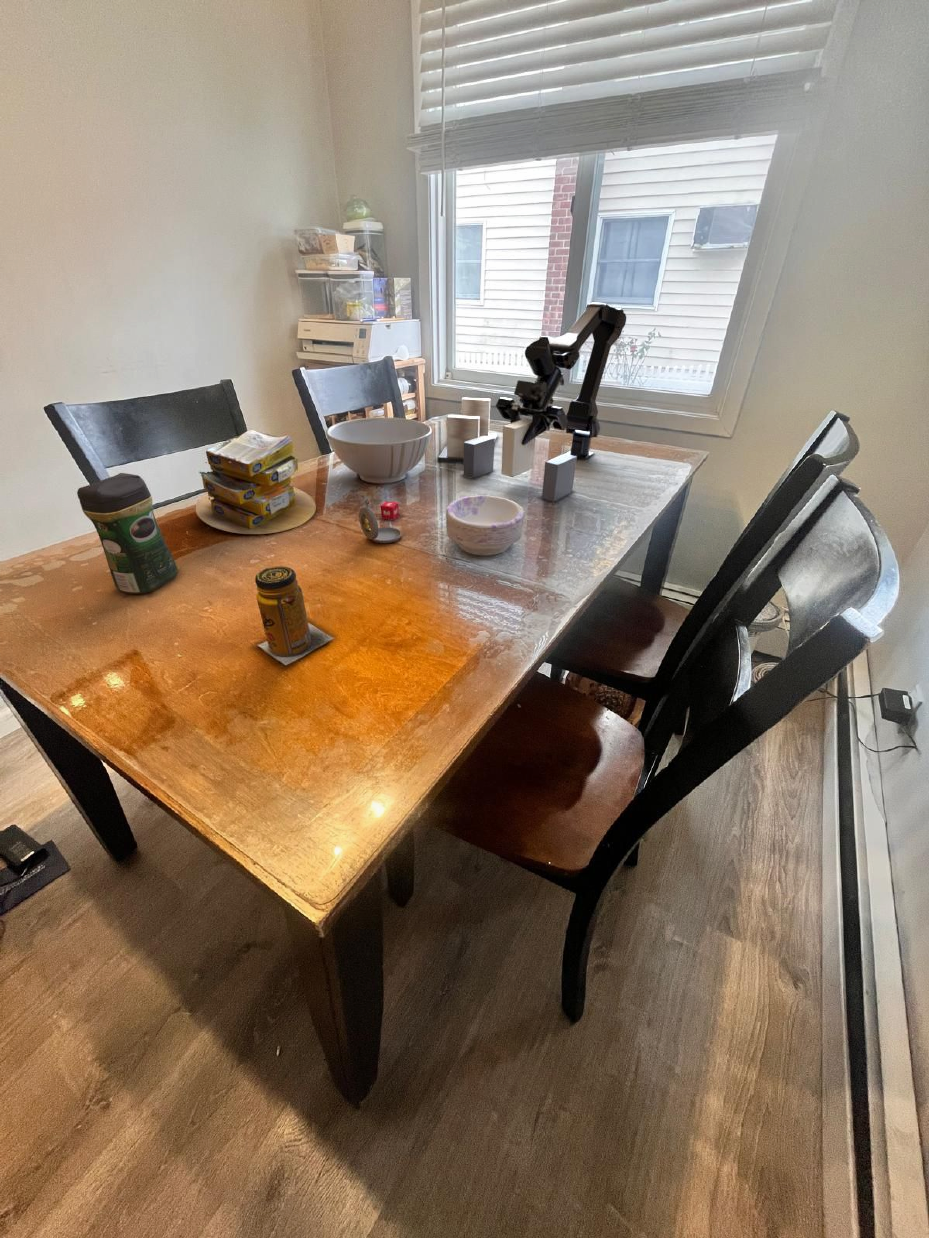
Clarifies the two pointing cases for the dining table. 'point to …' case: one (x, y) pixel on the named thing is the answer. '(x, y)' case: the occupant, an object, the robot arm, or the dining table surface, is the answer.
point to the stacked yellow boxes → (253, 486)
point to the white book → (517, 449)
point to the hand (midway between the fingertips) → (516, 442)
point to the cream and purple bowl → (484, 524)
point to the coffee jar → (128, 533)
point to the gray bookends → (555, 473)
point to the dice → (389, 510)
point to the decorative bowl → (380, 446)
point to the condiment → (285, 616)
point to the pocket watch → (376, 526)
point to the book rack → (466, 428)
